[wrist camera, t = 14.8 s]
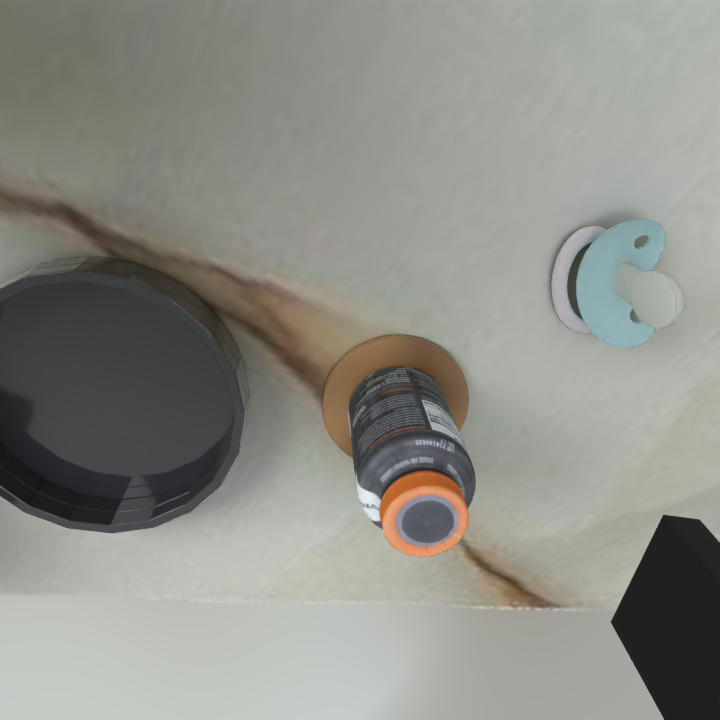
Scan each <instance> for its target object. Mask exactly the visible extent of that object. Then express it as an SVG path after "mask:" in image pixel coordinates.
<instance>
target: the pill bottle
mask: <svg viewBox="0 0 720 720" xmlns="http://www.w3.org/2000/svg"><path fill="white" fill-rule="evenodd" d="M348 418H349V426H350V434H351V443H352V450H353V452H352V453H353V461H354V470H355V476H356V484H357V492H358V497H359V501H360V504H361V506H362V508H363V510H364V512H365V513H366V515H367V516H368V517H369V518H370V520H371V521H372V522H373V523H374V524H375V525H377V526H378V527H380V528H381V529H383V532H384V535H385V537H386V539H387V540H388V542H389V543H390V544H391V546H393V547H394V548H395V549H396V550H398V551H400V552H402V553H404V554H407V555H410V556H416V557H428V556H434V555H438V554H440V553H442V552H445V551H447V550H448V549H450V548H452V547H453V546H454V545H455V544H457V543H458V542H459V541H460V540H461V538H462V537H463V535H464V533H465V531H466V529H467V526H468V522H469V515H468V507H469V505H470V503H471V501H472V499H473V496H474V492H475V484H476V480H475V472H474V468H473V465H472V463H471V460H470V458H469V455H468V453H467V450H466V448H465V445H464V443H463V440H462V438H461V436H460V434H459V431H458V429H457V427H456V424H455V422H454V419H453V417H452V415H451V412H450V410H449V408H448V405H447V403H446V401H445V398H444V396H443V394H442V392H441V390H440V388H439V386H438V385H437V383H436V382H435V381H434V380H433V379H432V378H431V377H430V376H428V375H427V374H425V373H424V372H422V371H420V370H417V369H415V368H410V367H405V366H399V367H398V366H394V367H387V368H384V369H381V370H378V371H376V372H374V373H372V374H370V375H368V376H367V377H365V379H364V380H363V381H362V382H361V383H360V384H359V385H358V386H357V387H356V389H355V391H354V392H353V394H352V396H351V398H350V402H349V406H348Z"/></svg>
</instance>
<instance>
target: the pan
mask: <svg viewBox="0 0 720 720" xmlns="http://www.w3.org/2000/svg"><path fill="white" fill-rule="evenodd" d="M248 398H249V392H248V387H247V377H246V373H245V368H244V364H243V361H242V358H241V355H240V353H239V350H238V347H237V345H236V343H235V342H234V340H233V338H232V336H231V334H230V332H229V331H228V329H227V328H226V326H225V325H224V324H223V322H222V321H221V319H220V318H219V317H218V316H217V314H216V313H215V312H214V311H213V310H212V309H211V308H210V307H209V306H208V305H207V304H206V303H205V302H204V301H203V300H202V299H201V298H199V297H198V296H197V295H196V294H195V293H193V292H192V291H191V290H190V289H188V288H187V287H185V286H184V285H182V284H181V283H179V282H178V281H176V280H174V279H172V278H170V277H169V276H167V275H165V274H163V273H161V272H159V271H157V270H154V269H151V268H148V267H146V266H143V265H140V264H137V263H133V262H129V261H124V260H120V259H114V258H105V257H74V258H67V259H60V260H56V261H52V262H46V263H42V264H40V265H38V266H36V267H34V268H32V269H30V270H27V271H25V272H23V273H21V274H20V275H18V276H16V277H14V278H12V279H10V280H8V281H6V282H4V283H2V284H1V285H0V496H1V497H3V498H4V499H6V500H7V501H9V502H10V503H12V504H13V505H14V506H16V507H17V508H19V509H20V510H22V511H23V512H25V513H28V514H30V515H33V516H36V517H39V518H41V519H44V520H47V521H49V522H52V523H55V524H58V525H60V526H63V527H66V528H67V527H68V528H70V529H79V530H88V531H97V532H105V533H117V532H124V531H132V530H139V529H147V528H153V527H156V526H159V525H161V524H163V523H165V522H168V521H170V520H172V519H175V518H177V517H179V516H182V515H184V514H186V513H189V512H191V511H192V510H193V509H194V508H195V507H197V506H198V505H199V504H200V503H201V502H202V501H204V500H205V499H206V498H207V497H208V496H209V495H210V494H212V493H213V492H214V491H215V490H216V489H217V488H219V487H220V485H221V484H222V482H223V480H224V479H225V477H226V475H227V473H228V472H229V470H230V468H231V466H232V465H233V463H234V461H235V459H236V457H237V456H238V454H239V451H240V446H241V441H242V436H243V431H244V424H245V418H246V411H247V404H248Z"/></svg>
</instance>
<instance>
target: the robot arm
mask: <svg viewBox="0 0 720 720" xmlns="http://www.w3.org/2000/svg"><path fill="white" fill-rule="evenodd" d="M611 623H612V625H613V627H614V629H615V631H616V632H617V634H618V636H619V638H620V640H621V642H622V643H623V645H624V647H625V649H626V651H627V652H628V654H629V656H630V658H631V660H632V661H633V663H634V665H635V667H636V669H637V671H638V672H639V674H640V676H641V678H642V679H643V681H644V683H645V685H646V687H647V689H648V690H649V692H650V694H651V696H652V698H653V700H654V701H655V703H656V705H657V707H658V709H659V711H660V712H661V714H662V716H663V718H664V720H720V543H719V541H718V540H717V539H716V538H715V537H714V536H713V535H712V533H711V532H710V531H709V530H708V529H707V528H706V526H705V525H704V524H703V523H702V522H701V521H700V520H699V519H691V518H683V517H676V516H668V515H663V517H662V519H661V521H660V523H659V525H658V527H657V529H656V531H655V533H654V535H653V537H652V539H651V541H650V543H649V545H648V547H647V549H646V551H645V553H644V555H643V557H642V560H641V562H640V564H639V566H638V568H637V570H636V572H635V574H634V576H633V578H632V580H631V582H630V584H629V586H628V588H627V590H626V592H625V594H624V596H623V598H622V600H621V602H620V604H619V606H618V608H617V610H616V613H615V615H614V617H613V619H612V621H611Z"/></svg>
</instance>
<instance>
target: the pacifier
mask: <svg viewBox="0 0 720 720" xmlns="http://www.w3.org/2000/svg"><path fill="white" fill-rule="evenodd" d="M642 235H647V236H648V240H647V242H646V244H645V245H643V246H642V247H639V248H635V247H634V242H635V240H636V239H637V238H638V237H640V236H642ZM592 242H593V243H592ZM589 243H592V244H591V245H590V246H589V248H588V249H587V251H586V252H585V254H584V256H583V258H582V260H581V263H580V266H579V269H578V273H577V279H576V299H577V304H578V307H579V311H580V314H581V316H582V317H580V316H578V315H576V314H575V313H574V311H573V309H572V308H571V306H570V303H569V299H568V293H567V281H568V274H569V270H570V267H571V264H572V262H573V260H574V258H575V256H576V255H577V253H578V252H579V251H580V250H581V249H582V248H583V247H584V246H585V245H587V244H589ZM664 245H665V232H664V229H663V227H662V226H661V225H660V224H659V223H657V222H655V221H653V220H649V219H634V220H629V221H626V222H623V223H620V224H618V225H616V226H614V227H612V228H610V229H608V230H607V229H605V228H603V227H601V226H587V227H584V228H581V229H579V230H578V231H577V232H575V233H574V234H573V235H571V236H570V237H569V239H568V240H567V241H566V242H565V244H564V245H563V246H562V248H561V250H560V252H559V254H558V256H557V259H556V262H555V266H554V269H553V275H552V285H551V287H552V299H553V303H554V306H555V310H556V313H557V314H558V316H559V318H560V320H561V321H562V323H564V324H565V325H566V326H567V327H568V328H569V329H570V330H573V331H575V332H577V333H589V332H592V333H593V334H594V335H595V336H596V337H597V338H599V339H600V340H602V341H604V342H606V343H608V344H610V345H613V346H617V347H624V348H628V347H635V346H638V345H640V344H642V343H644V342H646V341H647V340H648V339H649V338H650V337H651V335H652V334H653V333H654V331H655V329H662V328H665V327H668V326H670V325H672V324H673V323H675V322H676V321H677V320H678V319H679V318H680V316H681V314H682V312H683V310H684V306H685V297H684V293H683V290H682V288H681V286H680V285H679V284H678V282H677V281H676V280H675V279H674V278H672V277H671V276H669V275H668V274H665V273H663V272H659V271H651V270H652V269H653V268H654V267H655V265H656V263H657V262H658V260H659V258H660V256H661V254H662V252H663V249H664ZM632 309H634V312H635V313H636V315H637V316H638V318H639V319H640V320H639V321H637V322H633V321H632V320H631V319H630V312H631V310H632Z"/></svg>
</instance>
